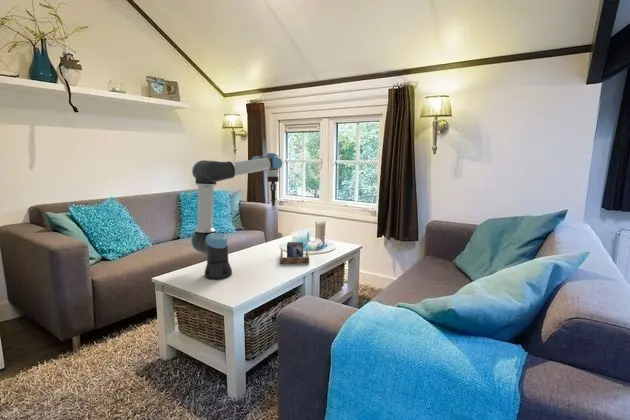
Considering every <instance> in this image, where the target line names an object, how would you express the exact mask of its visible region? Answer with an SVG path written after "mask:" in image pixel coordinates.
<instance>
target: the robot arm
mask: <svg viewBox="0 0 630 420" xmlns="http://www.w3.org/2000/svg"><path fill="white" fill-rule="evenodd" d="M282 167H283V160H282V157H279V154H278V152H267V154H266V155H265V156H264V155H256V156H253V157H252V158H251V159H248V160H242V161H236V162H234V161H233V162H232V161H229V160H228V161H217V160H205V159H203V160H199V161H196V162H195V163H194V164H193V166H192V169H191V174H192V176H193V177H194V178H195V185H196V186H197V226H196V228H195V229H194V233H193V235H192V236H191V240H190V242H191V246H192V248H193V249H194V250H195V251H198V252H199V253H202V254H205V255H206V266H205V270H204V278H205V277H206V279H207V278H208V280H211V279H213V280H214V281H215V280H217V281H218V279H219V280H223V279H224V280H225V279H227V278H230V277H231V276H232V275H233V269H232V267H231V264H230V262H229V248H228V247H229V246H228V245H229V241H228V237H227V235H225V234H224V233H220V232H219V233H217V232H216V229H215V228H214V224H213V223H214V192H215V191H214V188H215V186H216V185H217V182H221V181H225V180H230V179H234V178H235V176H241V175H246V174H252V173H257V172H262V171H266V173H267V177H266V178H267V182H268V183H270V184H269V186H270V187H269V188H270V196H271V197H270V198H271V199H270V203H271V211H276V208H277V207H276V205H277V204H276V201H277V199H276V191H277V183H278V182H279V173H280V170H279V169H281V168H282Z"/></svg>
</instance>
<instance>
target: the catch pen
mask: <svg viewBox="0 0 630 420" xmlns="http://www.w3.org/2000/svg"><path fill="white" fill-rule="evenodd" d="M283 254H284V253H283V249H280V259H279V260H280V263H279V264H280V265H300V264H301V265H303V264H305V265H306V264H310V256H309V250H308V249H307V248H306V249H305V256H303V257H287V256H286V257H284V255H283Z"/></svg>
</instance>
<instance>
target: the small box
mask: <svg viewBox="0 0 630 420" xmlns="http://www.w3.org/2000/svg"><path fill="white" fill-rule="evenodd" d="M286 257H304V242H303V241H302V242H300V241H298V242H297V241H288V242H286Z"/></svg>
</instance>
